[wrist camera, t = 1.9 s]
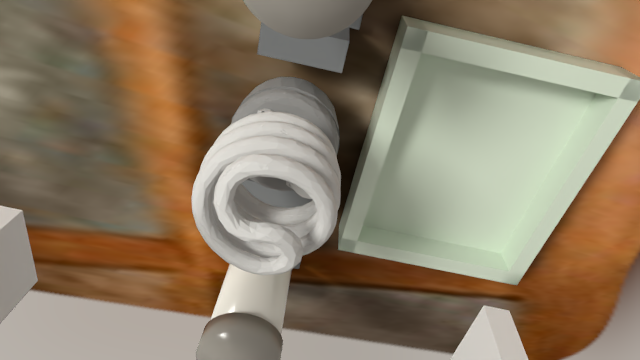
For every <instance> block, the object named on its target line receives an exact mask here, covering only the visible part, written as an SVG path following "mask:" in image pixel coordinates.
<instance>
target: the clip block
mask: <svg viewBox="0 0 640 360" xmlns="http://www.w3.org/2000/svg"><path fill="white" fill-rule="evenodd" d="M362 16H363V14H362V15H361V16H360V17H359V18H358V19H357V20H356V21H355V22H354V23H352V24H351V25H350V26H348V27H347V28H346V29H344V30H342V31H340V32H338V33H336V34H333V35H331V36H328V37H324V38H319V39H298V38H292V37H289V36H286V35H283V34H281V33H278V32H276V31H274V30H273V29H271V28H269V27H268V26H266V25H265V24H264V23H262V22H261V29H260V37H259V45H258V53H257V54H259V55H263V56H267V57H272V58H276V59H281V60H285V61H290V62H294V63H298V64H303V65H307V66H312V67H316V68H321V69H325V70H330V71H334V72H338V73H342V70H343V66H344V62H345V58H346V54H347V49H348V45H349V28H353V29H357V30H359V28H360V24H361V20H362ZM242 184H243V186H244V187H245V188H246V189H247V191H248V192H249V193H250V194H251V195H253V196H254V197H256V198H257V199H259V200H260V201H262V202H264V203H266V204H269V205H272V206H276V207H284V208H294V207H299V206H303V205H305V204H307V203H309V202H311V201H312V200H313V199H307V198H303V197H301V196H300V195H299V194H297V193H296V192H295V191H294V190H291V191H280V190H275V189H271V188H267V187H263V186H262V185H260V184H258V183H256V182H255V181H253V180H251V179H250V178H248V179H247V180H245V181H244V182H242ZM301 259H302V258H301ZM300 263H301V262H299V263H298V264H297V265H296V266H295V267H294V268H295V269H299V267H300ZM291 271H292V270H291ZM290 278H291V277H290ZM289 284H290V283H289ZM288 290H289V289H288ZM287 296H288V295H287Z"/></svg>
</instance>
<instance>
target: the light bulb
mask: <svg viewBox="0 0 640 360" xmlns="http://www.w3.org/2000/svg"><path fill="white" fill-rule="evenodd" d="M339 146H340V145H339V127H338V122H337V117H336V113H335V109H334V106H333V105H332V103H331V101H330V100H329V98H328V97H327V95H326V94H325V93H324V92H323V91H321V90H320V89H319V88H318V87H316V86H315V85H314V84H312V83H310V82H308V81H306V80H303V79H299V78H295V77H278V78H275V79H271V80H268V81H266V82H264V83H262V84H260V85H258V86H257V87H256V88H255V89H254V90H253V91H252V92H251V93H250V94H249V95H248V96H247V97H246V98H245V99H244V100H243V102H242V103H241V105H240V106H239V108H238V110H237V111H236V113H235V114H234V116H233V117H232V123H231V125H230V126H229V127H228V128H226V129H225V130H224V131H223V132H222V133H221V135H220V136H219V137H218V138H217V140H216V141H215V143H214V145H213V146H212V147H211V148H210V150H209V151H208V152H207V154H206V156H205V158H204V160H203V162H202V164H201V168H200V171H199V173H198V175H197V177H196V180H195V182H194V185H193V192H192V213H193V216H194V219H195V222H196V225H197V228H198V230H199V232H200V233H201V235H202V237H203V238H204V240H205V241H206V243H207V244H208V245H209V246H210V248H211V249H212V250H213V251H214V252H216V253H217V254H218V255H219V256H220V257H221V258H223V259H224V260H225V261H226V262H228V263H230V264H232V265H233V266H235V267H237V268H239V269H241V270H243V271H246V272H249V273H253V274H258V275H278V274H282V273H285V272H288V271H290V270H292V269H293V268H294V267H295V266H296V265H297V264H298V263H299V262H301V258H302V256H303V255H306V254H309V253H311V252H313V251H314V250H316V249H318V248H319V247H321V246H322V245H323V244H324V243H325V242H326V241H327V240H328V239H329V237H330V236H331V234H332V233H333V230H334V228H335V225H336V222H337V211H338V209H339V206H340V197H341V192H340V187H341V173H340V169H339V165H338V161H337V153H338V149H339ZM248 178H250V179H251V180H253V181H255V182H256V183H258V184H260V185H262V186H263V187H267V188H271V189H275V190H280V191H291V190H294V191H295V192H296V193H297V194H299V195H300V196H301V197H303V198H307V199H313V200H312V201H311V202H309V203H307V204H305V205H303V206H299V207H294V208H284V207H276V206H272V205H269V204H266V203H264V202H262V201H260V200H259V199H257V198H256V197H254V196H253V195H251V194H250V193H249V192H248V191H247V189H246V188H245V187H244V186H243V184H242V182H244V181H245V180H247V179H248ZM253 216H254V217H253ZM255 217H256V218H255ZM257 218H258V219H257ZM259 219H260V220H259ZM261 220H263V221H261ZM264 221H266V222H264ZM277 224H280V225H277ZM245 251H246V252H245ZM250 253H251V254H250ZM253 254H254V255H253ZM255 255H257V256H255ZM258 256H260V257H258Z"/></svg>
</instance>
